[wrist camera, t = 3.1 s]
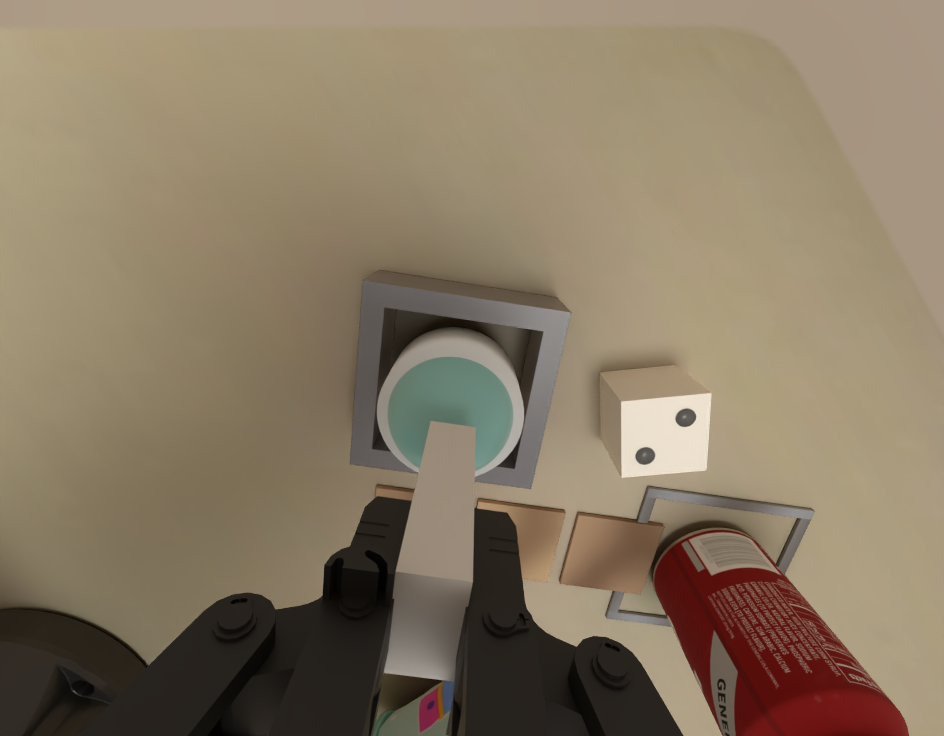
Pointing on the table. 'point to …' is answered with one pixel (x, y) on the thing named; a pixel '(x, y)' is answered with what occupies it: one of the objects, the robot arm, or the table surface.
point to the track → (612, 542)
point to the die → (654, 420)
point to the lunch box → (419, 714)
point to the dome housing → (470, 304)
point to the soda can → (763, 645)
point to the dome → (451, 396)
